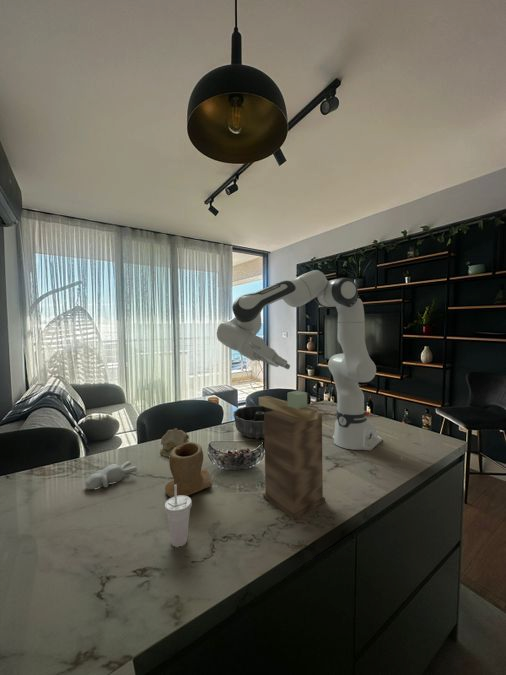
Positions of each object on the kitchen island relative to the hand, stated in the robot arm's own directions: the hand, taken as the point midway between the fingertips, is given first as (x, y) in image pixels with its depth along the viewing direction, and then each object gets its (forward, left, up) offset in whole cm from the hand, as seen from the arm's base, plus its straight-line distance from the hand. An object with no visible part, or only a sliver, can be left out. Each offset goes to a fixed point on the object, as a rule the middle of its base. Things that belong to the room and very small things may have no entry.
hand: (288, 365), depth 104 cm
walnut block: (+11, +13, -38) cm, 42 cm away
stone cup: (+33, -11, -38) cm, 52 cm away
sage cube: (+11, +15, -9) cm, 21 cm away
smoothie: (+45, +8, -38) cm, 60 cm away
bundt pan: (-16, -37, -38) cm, 55 cm away
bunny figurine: (+52, -33, -38) cm, 72 cm away
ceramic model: (+25, -42, -38) cm, 62 cm away
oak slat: (+11, +10, -12) cm, 19 cm away
